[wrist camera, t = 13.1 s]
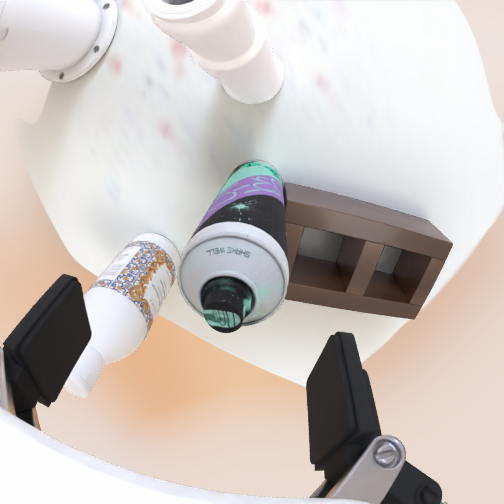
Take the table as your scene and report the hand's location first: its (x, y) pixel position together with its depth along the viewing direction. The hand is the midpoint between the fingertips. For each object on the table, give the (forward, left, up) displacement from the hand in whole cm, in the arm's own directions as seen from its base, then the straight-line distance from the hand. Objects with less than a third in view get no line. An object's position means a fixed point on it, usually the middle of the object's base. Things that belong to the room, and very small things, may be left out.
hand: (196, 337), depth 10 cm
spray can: (0, +1, -22) cm, 22 cm away
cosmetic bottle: (-11, -2, -22) cm, 24 cm away
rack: (+4, +12, -22) cm, 25 cm away
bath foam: (+11, -10, -22) cm, 26 cm away
